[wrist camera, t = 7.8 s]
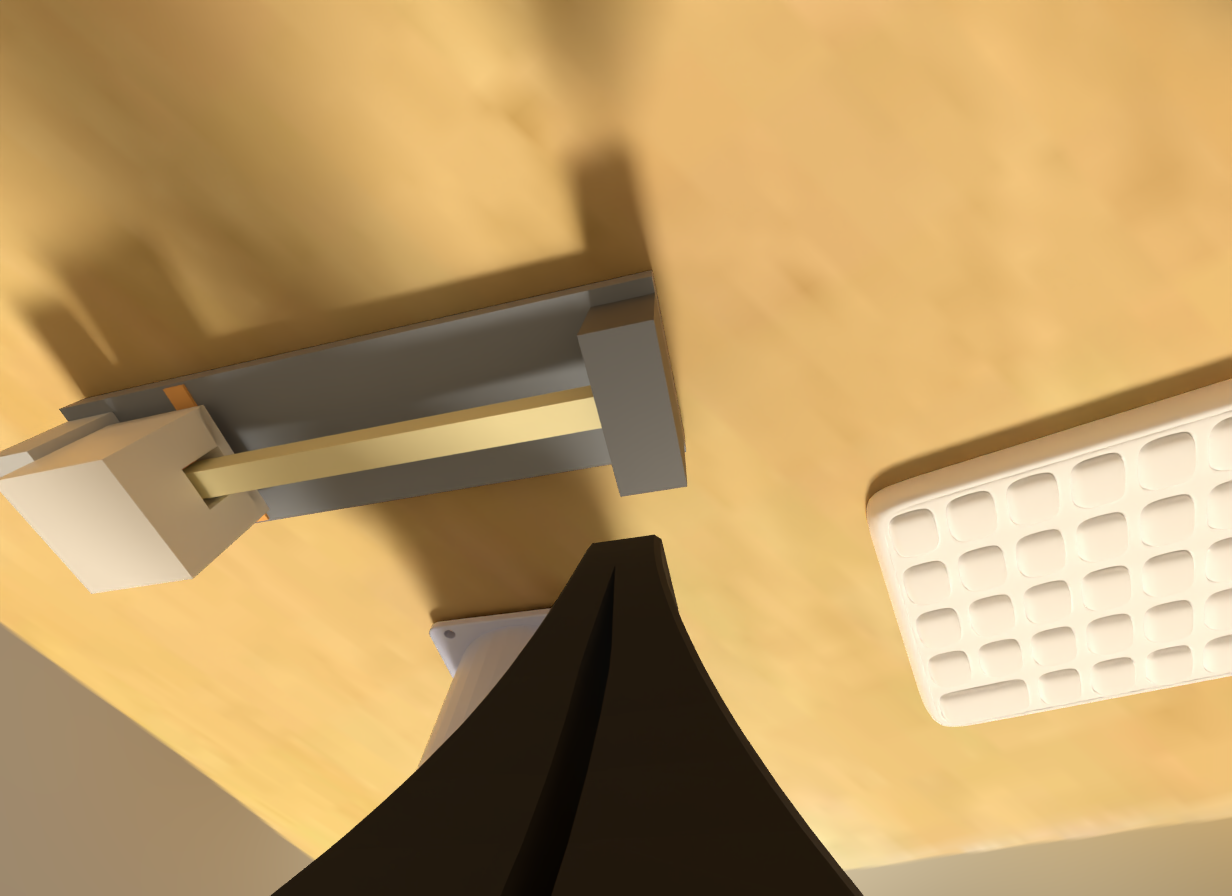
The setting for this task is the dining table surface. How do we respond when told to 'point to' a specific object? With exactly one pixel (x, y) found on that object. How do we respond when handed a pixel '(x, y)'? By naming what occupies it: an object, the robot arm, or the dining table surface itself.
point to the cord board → (430, 406)
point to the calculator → (1067, 563)
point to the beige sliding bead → (133, 502)
